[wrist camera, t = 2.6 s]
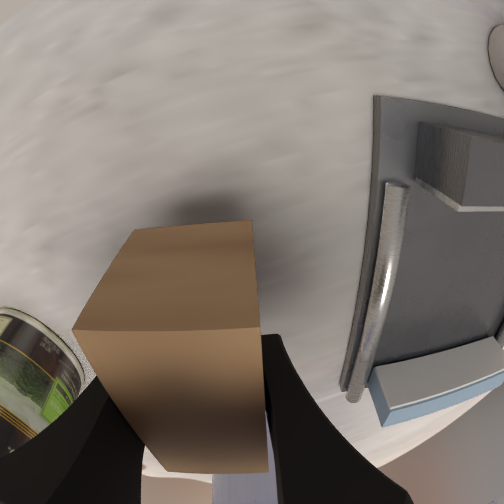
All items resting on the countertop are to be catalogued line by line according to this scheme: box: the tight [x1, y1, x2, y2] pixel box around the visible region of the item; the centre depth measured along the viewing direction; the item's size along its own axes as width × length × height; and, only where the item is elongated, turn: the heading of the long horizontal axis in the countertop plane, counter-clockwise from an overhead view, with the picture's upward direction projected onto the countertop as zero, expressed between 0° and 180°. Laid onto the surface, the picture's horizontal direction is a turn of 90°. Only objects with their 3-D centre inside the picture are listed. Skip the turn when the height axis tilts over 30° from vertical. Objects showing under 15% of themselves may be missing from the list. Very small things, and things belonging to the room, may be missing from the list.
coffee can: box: [0, 308, 84, 504], centre depth 14 cm, size 10×10×14 cm
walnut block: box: [72, 220, 269, 474], centre depth 10 cm, size 8×4×5 cm, turn 4°
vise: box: [340, 96, 504, 403], centre depth 15 cm, size 20×16×5 cm
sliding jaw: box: [368, 336, 504, 427], centre depth 18 cm, size 2×12×4 cm, turn 94°
